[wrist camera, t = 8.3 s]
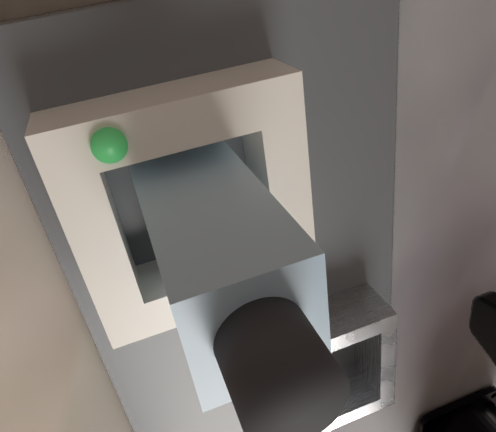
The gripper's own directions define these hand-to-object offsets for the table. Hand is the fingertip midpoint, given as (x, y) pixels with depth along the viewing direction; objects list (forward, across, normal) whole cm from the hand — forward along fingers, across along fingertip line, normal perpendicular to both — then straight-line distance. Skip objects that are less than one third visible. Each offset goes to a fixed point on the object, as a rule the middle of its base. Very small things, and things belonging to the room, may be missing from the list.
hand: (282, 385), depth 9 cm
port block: (+10, 0, 0) cm, 10 cm away
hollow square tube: (+10, -5, +11) cm, 15 cm away
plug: (+10, 0, 0) cm, 10 cm away
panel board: (+11, -2, +5) cm, 12 cm away
